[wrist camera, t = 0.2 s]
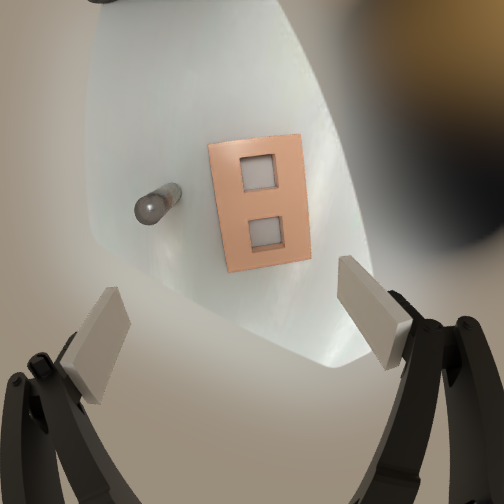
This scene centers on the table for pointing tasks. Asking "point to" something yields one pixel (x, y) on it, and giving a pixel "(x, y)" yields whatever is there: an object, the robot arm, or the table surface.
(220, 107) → the table surface
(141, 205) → the steel dowel
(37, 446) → the robot arm
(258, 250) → the terracotta block
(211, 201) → the table surface
